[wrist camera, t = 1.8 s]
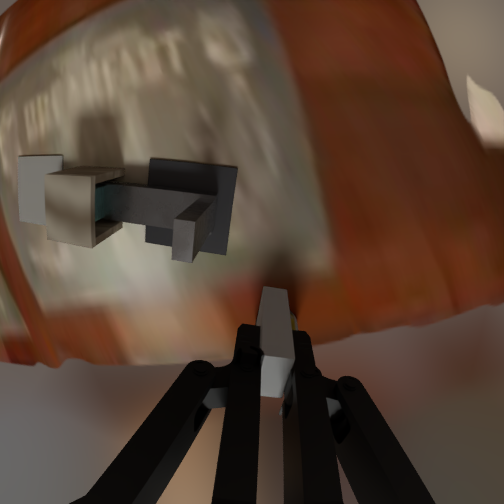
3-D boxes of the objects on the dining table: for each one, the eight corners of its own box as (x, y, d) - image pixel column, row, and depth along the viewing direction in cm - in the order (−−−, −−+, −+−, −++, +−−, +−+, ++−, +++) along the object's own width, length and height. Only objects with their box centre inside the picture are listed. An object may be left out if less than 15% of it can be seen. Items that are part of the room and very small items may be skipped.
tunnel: (81, 166, 36) (44, 174, 28) (124, 168, 36) (91, 176, 28) (80, 221, 39) (47, 239, 31) (122, 227, 39) (91, 248, 31)
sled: (60, 177, 36) (5, 194, 25) (218, 193, 36) (195, 216, 25) (60, 208, 38) (8, 232, 26) (213, 229, 38) (191, 267, 27)
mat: (19, 156, 35) (18, 156, 35) (63, 155, 35) (62, 155, 35) (20, 220, 40) (19, 220, 39) (63, 227, 40) (62, 228, 40)
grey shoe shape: (150, 159, 36) (150, 159, 35) (237, 168, 36) (237, 168, 36) (145, 241, 40) (145, 242, 40) (226, 254, 40) (225, 255, 40)
